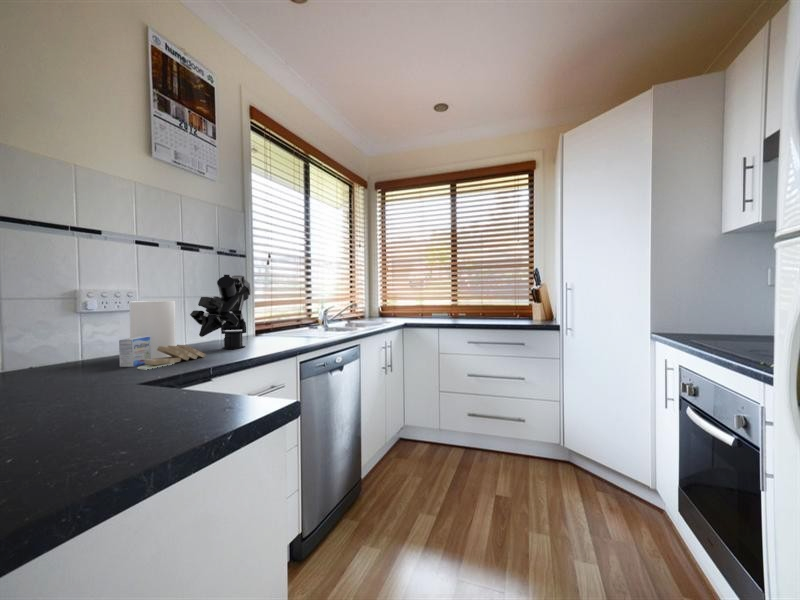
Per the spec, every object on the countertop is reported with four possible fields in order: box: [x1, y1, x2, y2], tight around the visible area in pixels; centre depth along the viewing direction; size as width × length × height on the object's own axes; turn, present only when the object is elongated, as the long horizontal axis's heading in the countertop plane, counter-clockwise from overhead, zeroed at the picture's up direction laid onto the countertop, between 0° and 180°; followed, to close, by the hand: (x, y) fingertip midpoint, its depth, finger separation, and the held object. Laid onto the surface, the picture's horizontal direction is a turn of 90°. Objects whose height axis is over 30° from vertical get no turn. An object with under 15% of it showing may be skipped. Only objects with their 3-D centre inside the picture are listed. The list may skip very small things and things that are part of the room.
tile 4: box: [144, 357, 182, 365], centre depth 114 cm, size 1×4×9 cm
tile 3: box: [157, 346, 190, 361], centre depth 117 cm, size 1×4×9 cm
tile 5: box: [136, 362, 176, 371], centre depth 112 cm, size 1×4×9 cm
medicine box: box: [118, 336, 151, 368], centre depth 115 cm, size 8×4×9 cm, turn 179°
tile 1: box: [176, 344, 206, 359], centre depth 124 cm, size 1×4×9 cm
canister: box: [129, 300, 177, 359], centre depth 129 cm, size 14×14×20 cm
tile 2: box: [168, 345, 199, 360], centre depth 120 cm, size 1×4×9 cm
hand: (200, 336), depth 127 cm, fingers closed
